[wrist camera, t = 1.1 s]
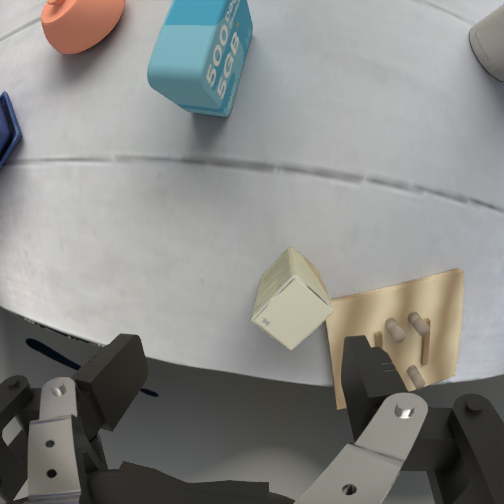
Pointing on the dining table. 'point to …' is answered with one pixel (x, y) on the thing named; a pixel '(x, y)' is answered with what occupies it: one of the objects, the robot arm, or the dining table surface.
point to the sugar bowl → (79, 22)
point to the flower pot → (7, 128)
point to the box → (291, 300)
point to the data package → (201, 54)
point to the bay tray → (403, 327)
